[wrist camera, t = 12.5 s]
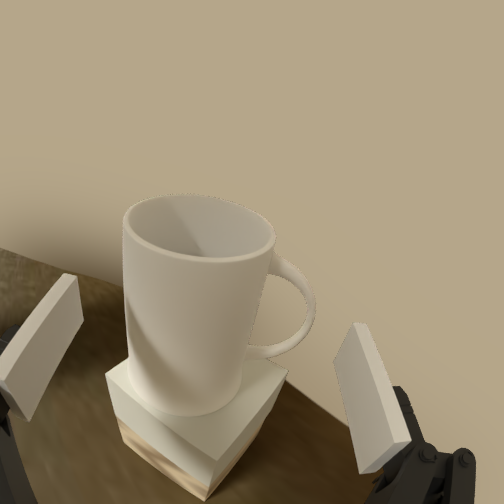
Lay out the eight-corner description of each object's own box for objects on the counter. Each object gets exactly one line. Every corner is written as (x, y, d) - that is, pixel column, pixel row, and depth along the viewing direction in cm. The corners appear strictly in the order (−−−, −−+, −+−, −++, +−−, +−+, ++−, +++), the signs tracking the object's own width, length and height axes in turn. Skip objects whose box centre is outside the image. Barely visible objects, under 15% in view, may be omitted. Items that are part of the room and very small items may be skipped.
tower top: (115, 414, 22) (105, 373, 19) (186, 358, 30) (190, 314, 27) (208, 487, 18) (216, 461, 16) (271, 409, 26) (288, 370, 24)
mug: (287, 355, 25) (335, 225, 19) (276, 442, 18) (351, 303, 12) (153, 318, 26) (160, 183, 20) (108, 391, 18) (84, 233, 12)
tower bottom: (123, 442, 25) (115, 414, 22) (183, 389, 33) (185, 356, 30) (204, 501, 21) (210, 484, 19) (257, 435, 29) (270, 407, 27)
